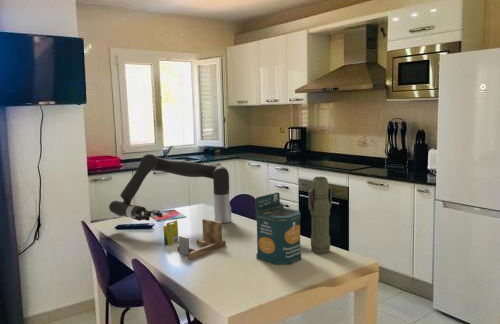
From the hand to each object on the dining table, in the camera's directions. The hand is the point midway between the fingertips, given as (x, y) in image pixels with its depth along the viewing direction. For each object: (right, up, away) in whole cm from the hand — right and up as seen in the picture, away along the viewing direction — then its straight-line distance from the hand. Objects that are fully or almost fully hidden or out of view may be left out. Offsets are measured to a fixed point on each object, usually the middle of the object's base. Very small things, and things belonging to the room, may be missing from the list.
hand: (155, 216), depth 223 cm
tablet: (-5, -7, +54) cm, 54 cm away
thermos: (+82, -13, -23) cm, 86 cm away
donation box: (+64, -15, -31) cm, 72 cm away
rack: (+25, -14, -17) cm, 33 cm away
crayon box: (+9, -13, -5) cm, 17 cm away
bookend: (+19, -15, -24) cm, 34 cm away
